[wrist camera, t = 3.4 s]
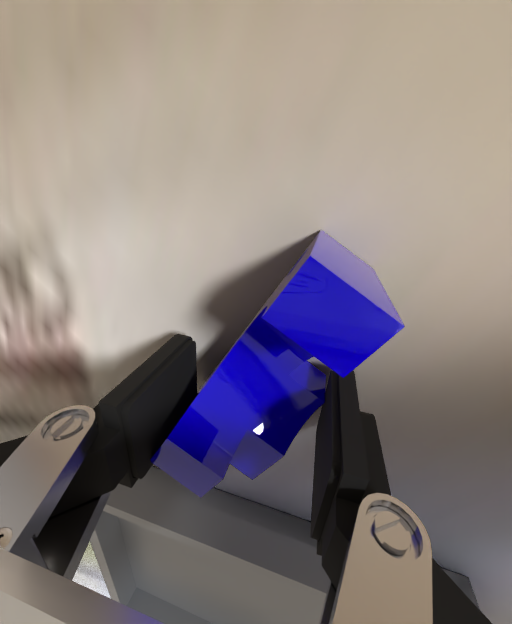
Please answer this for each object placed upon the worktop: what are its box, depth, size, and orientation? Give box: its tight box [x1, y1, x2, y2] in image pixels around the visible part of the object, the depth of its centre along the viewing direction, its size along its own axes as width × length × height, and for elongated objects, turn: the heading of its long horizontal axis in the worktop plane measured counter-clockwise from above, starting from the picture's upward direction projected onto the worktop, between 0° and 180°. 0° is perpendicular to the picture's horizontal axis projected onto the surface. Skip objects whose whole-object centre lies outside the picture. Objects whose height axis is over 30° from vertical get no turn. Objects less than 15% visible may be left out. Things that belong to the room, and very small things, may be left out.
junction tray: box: [90, 466, 480, 624], centre depth 16 cm, size 20×16×2 cm
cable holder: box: [150, 230, 405, 498], centre depth 8 cm, size 8×4×4 cm, turn 146°
